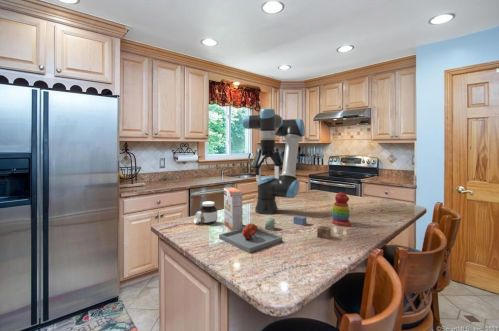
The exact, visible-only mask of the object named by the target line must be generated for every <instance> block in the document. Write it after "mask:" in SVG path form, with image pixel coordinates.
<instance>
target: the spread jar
mask: <svg viewBox="0 0 499 331" xmlns="http://www.w3.org/2000/svg"><path fill="white" fill-rule="evenodd" d="M217 221H218V209H217V207H216V205H215V201H209V200H208V201H207V200H206V201H203V202H202V206H201V207H200V208H199V211H196V212H195V215H194V219H193V222H194V224H199V222H201V224H203V225H214V224H215V223H216V222H217Z"/></svg>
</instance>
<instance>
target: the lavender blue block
mask: <svg viewBox="0 0 499 331" xmlns="http://www.w3.org/2000/svg"><path fill="white" fill-rule="evenodd" d="M293 224H294V225H299V226H305V225H307V216H303V215H294V216H293Z"/></svg>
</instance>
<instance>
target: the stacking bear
mask: <svg viewBox="0 0 499 331" xmlns="http://www.w3.org/2000/svg"><path fill="white" fill-rule="evenodd" d="M334 198H335V202H334V203H333V205H332V209H331V215H332V221H331V223H332V224H333V225H335V226H339V227H349V228H350V227H352V226H353V224H352V223H351V222H350V219H349V217H350V214H351V213H350V207H349V204H348V202H349V200H350V198H349V196H348V195H347V194H346V193H345V192H341V191H339V192H337V193H336V194H335V196H334Z"/></svg>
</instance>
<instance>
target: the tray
mask: <svg viewBox="0 0 499 331" xmlns="http://www.w3.org/2000/svg"><path fill="white" fill-rule="evenodd" d="M243 229H244V227H243V228H242V229H238V230H234V231H231V230H230V231H227V232H224V233H219V234H218V239H219V240H221V241H224V242H226V243H227V244H230V245H232V246H234V247H236V248H238V249H240V250H242V251H244V252H247V253H249V254H251V253H253V252H257V251H259V250H262V249H265V248H267V247H270V246H273V245H276V244H279V243H282V242H283V236H280V235H277V234H274V233H272V232H269V231H265V230H263V229H260V228H258V230H257V231H256V232H255V234H254V235H255V236H256V237H257V238H258V239H259V240H258V239H257V238H256V237H255V236H254V235H253V236H252V237H251V238H250V239H246V238H245V237H244V236H243V234H242V231H243Z"/></svg>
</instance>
